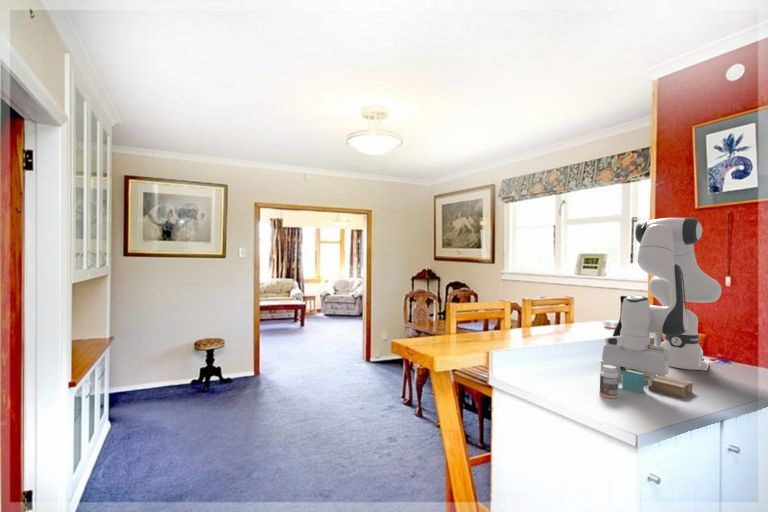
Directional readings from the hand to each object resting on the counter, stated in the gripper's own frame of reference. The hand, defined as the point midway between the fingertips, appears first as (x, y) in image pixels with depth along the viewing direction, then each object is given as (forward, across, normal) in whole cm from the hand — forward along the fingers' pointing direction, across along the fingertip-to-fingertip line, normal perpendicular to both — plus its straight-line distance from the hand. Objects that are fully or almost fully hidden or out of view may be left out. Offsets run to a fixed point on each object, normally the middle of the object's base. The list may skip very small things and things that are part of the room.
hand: (633, 381), depth 141 cm
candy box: (+3, +7, -24) cm, 25 cm away
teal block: (+3, 0, 0) cm, 3 cm away
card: (+3, +2, -14) cm, 14 cm away
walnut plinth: (+3, -8, -10) cm, 13 cm away
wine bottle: (+3, +15, -28) cm, 32 cm away
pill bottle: (+3, +2, +14) cm, 14 cm away
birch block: (+3, +11, -8) cm, 14 cm away
